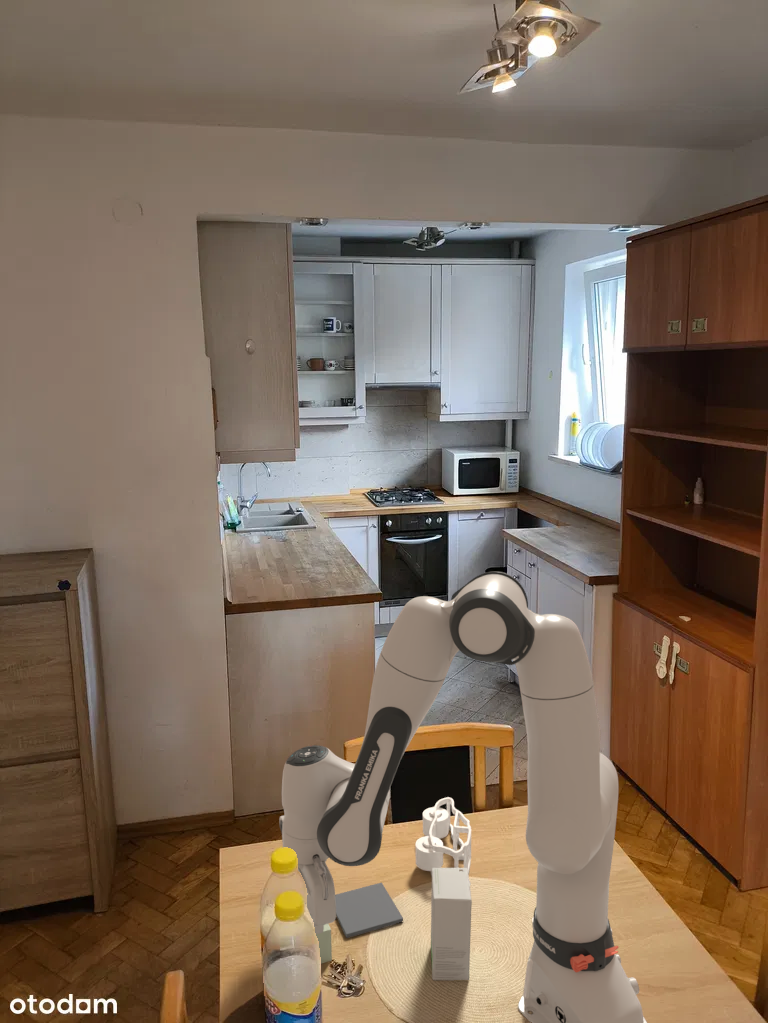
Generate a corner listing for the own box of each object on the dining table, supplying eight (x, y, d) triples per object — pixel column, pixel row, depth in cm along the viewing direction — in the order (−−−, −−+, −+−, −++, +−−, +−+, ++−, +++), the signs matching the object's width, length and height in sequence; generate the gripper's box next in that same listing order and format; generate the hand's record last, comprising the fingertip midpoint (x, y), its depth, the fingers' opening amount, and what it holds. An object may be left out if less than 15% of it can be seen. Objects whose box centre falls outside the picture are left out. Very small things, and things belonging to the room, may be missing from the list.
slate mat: (403, 921, 140) (403, 918, 140) (346, 938, 136) (346, 934, 136) (381, 886, 150) (381, 882, 150) (328, 900, 147) (328, 896, 146)
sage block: (331, 960, 131) (331, 929, 130) (303, 968, 130) (302, 937, 129) (323, 941, 136) (322, 910, 135) (296, 948, 134) (295, 918, 133)
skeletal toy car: (425, 825, 171) (425, 795, 170) (474, 830, 169) (475, 799, 168) (412, 882, 152) (412, 848, 151) (468, 888, 150) (468, 854, 149)
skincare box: (430, 945, 134) (430, 865, 132) (468, 946, 134) (468, 865, 132) (432, 982, 126) (431, 897, 124) (472, 983, 126) (472, 898, 123)
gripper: (345, 872, 121) (345, 949, 123) (310, 805, 140) (311, 873, 142) (307, 881, 119) (308, 959, 121) (276, 812, 138) (278, 881, 140)
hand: (309, 912), depth 132 cm, fingers open, 8 cm apart
